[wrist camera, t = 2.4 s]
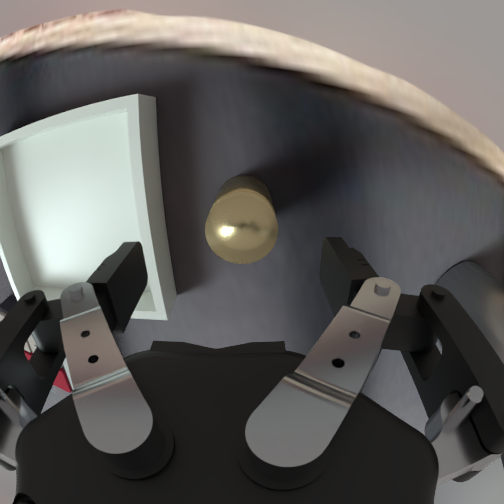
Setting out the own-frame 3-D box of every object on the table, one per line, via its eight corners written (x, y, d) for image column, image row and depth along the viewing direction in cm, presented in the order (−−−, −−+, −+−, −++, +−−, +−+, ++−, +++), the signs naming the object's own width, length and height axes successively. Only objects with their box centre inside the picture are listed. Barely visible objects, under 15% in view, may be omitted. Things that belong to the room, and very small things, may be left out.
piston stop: (271, 174, 20) (278, 195, 15) (271, 226, 22) (277, 263, 16) (215, 176, 20) (202, 196, 15) (218, 227, 22) (208, 264, 16)
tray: (156, 97, 17) (138, 93, 14) (177, 295, 25) (167, 320, 21) (2, 141, 17) (-22, 147, 14) (35, 288, 25) (19, 305, 21)
